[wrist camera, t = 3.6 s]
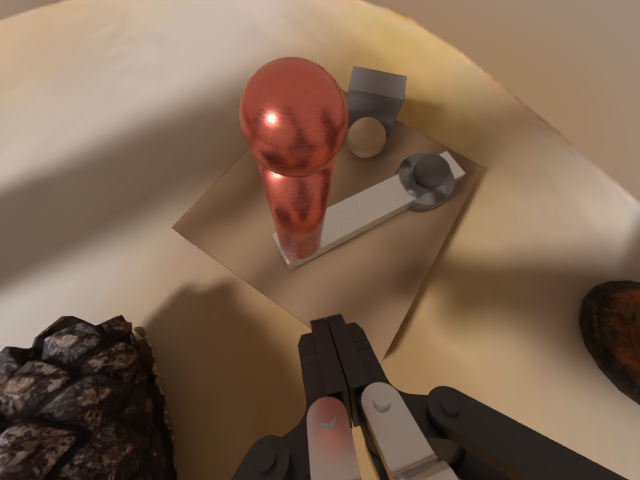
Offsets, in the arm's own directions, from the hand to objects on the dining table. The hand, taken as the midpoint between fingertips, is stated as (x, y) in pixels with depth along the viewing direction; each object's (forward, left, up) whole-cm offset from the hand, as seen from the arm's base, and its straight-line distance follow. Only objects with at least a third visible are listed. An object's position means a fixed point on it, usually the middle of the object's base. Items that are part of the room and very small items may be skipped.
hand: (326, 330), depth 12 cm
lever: (-2, +10, -5) cm, 11 cm away
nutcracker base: (-4, +10, -8) cm, 13 cm away
